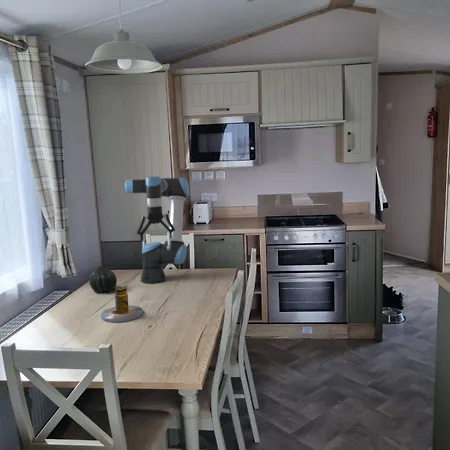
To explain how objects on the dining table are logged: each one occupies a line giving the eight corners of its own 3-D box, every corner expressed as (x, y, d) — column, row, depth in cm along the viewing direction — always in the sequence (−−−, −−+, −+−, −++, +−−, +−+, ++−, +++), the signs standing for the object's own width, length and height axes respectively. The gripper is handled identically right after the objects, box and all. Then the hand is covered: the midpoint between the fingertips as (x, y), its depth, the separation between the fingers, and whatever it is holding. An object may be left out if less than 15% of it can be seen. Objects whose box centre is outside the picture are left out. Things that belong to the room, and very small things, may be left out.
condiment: (131, 312, 219) (129, 288, 217) (114, 316, 215) (112, 292, 213) (126, 308, 226) (125, 285, 224) (109, 311, 222) (108, 288, 220)
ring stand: (98, 311, 226) (98, 309, 226) (138, 305, 234) (138, 302, 233) (104, 325, 208) (103, 322, 208) (147, 318, 215) (146, 315, 215)
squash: (111, 286, 250) (113, 262, 258) (84, 287, 250) (87, 263, 258) (117, 296, 262) (120, 273, 270) (92, 298, 262) (95, 274, 270)
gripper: (132, 208, 229) (134, 249, 232) (179, 204, 238) (181, 244, 241) (129, 207, 235) (131, 246, 239) (175, 203, 245) (177, 242, 248)
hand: (156, 245), depth 240 cm, fingers open, 13 cm apart
